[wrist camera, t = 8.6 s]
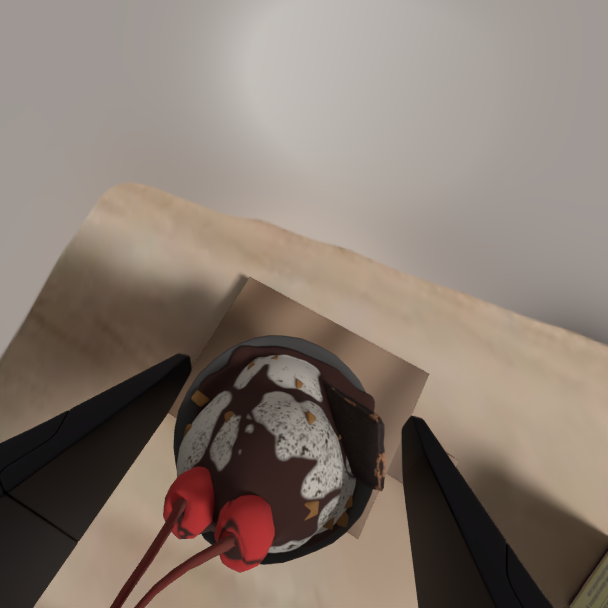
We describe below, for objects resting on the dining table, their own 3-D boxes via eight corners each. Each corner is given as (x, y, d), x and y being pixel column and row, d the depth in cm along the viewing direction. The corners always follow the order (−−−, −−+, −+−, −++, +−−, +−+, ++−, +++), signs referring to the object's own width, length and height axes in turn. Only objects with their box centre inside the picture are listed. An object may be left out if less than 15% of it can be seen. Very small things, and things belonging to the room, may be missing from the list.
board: (467, 397, 18) (480, 401, 17) (405, 556, 16) (414, 577, 15) (254, 282, 21) (250, 276, 19) (176, 406, 19) (164, 410, 17)
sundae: (234, 414, 17) (-248, 791, 2) (276, 332, 18) (136, 237, 4) (315, 458, 16) (365, 1458, 2) (353, 370, 17) (580, 449, 3)
